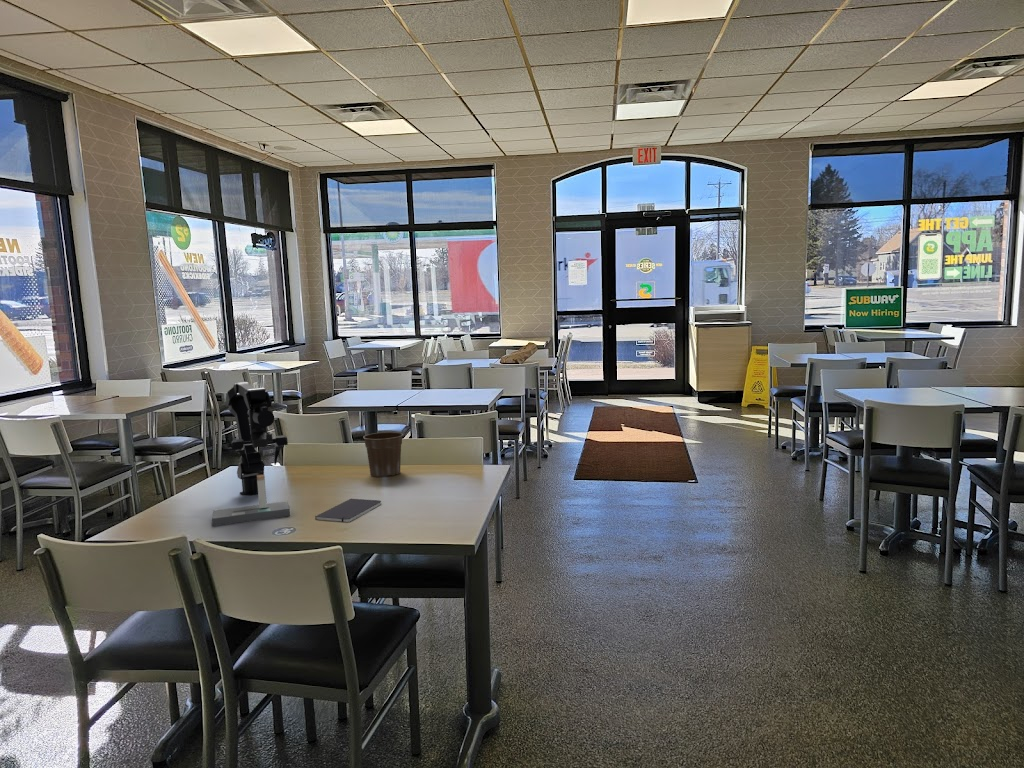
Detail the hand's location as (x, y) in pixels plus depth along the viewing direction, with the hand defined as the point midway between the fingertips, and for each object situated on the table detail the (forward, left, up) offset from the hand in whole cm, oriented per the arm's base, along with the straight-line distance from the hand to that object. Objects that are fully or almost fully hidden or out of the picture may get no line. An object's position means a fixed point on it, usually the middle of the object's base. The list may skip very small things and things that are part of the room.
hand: (261, 466), depth 250 cm
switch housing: (+9, -15, -13) cm, 22 cm away
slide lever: (+12, -13, -10) cm, 20 cm away
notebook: (+38, 0, -14) cm, 40 cm away
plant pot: (+19, +48, -13) cm, 53 cm away
